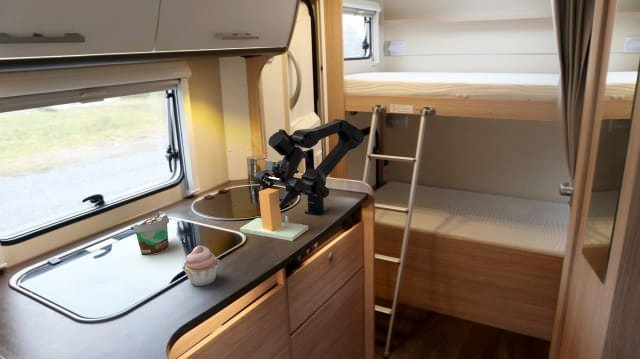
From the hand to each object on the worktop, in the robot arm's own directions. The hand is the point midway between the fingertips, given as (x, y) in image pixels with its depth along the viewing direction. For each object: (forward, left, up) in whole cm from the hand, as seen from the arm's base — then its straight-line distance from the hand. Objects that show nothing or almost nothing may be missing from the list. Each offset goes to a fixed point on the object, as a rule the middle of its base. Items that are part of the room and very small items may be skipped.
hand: (269, 205), depth 144 cm
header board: (-1, 0, -9) cm, 9 cm away
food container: (+24, -25, -9) cm, 36 cm away
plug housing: (0, 0, -8) cm, 8 cm away
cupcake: (+34, +1, -9) cm, 35 cm away
